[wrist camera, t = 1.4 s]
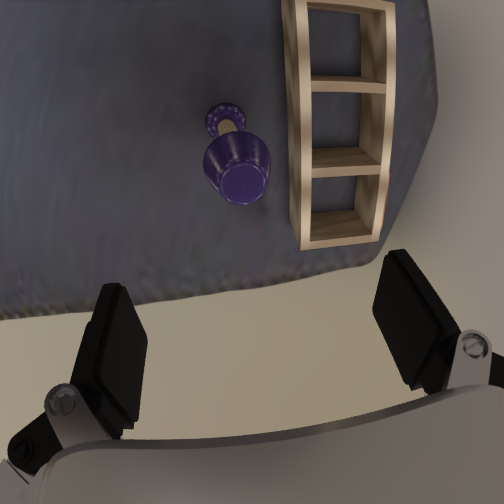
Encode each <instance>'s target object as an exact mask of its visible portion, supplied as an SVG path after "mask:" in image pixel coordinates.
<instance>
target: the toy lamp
mask: <svg viewBox="0 0 504 504" xmlns="http://www.w3.org/2000/svg"><path fill="white" fill-rule="evenodd" d="M245 126H246V118H245V115H244V113H243V111H242V110H241V109H240V108H239V107H238V106H236V105H234V104H230V103H223V104H219V105H216V106H215V107H213V108H212V109H211V110H210V111H209V113H208V115H207V117H206V128H207V131H208V132H209V134H210V135H211V136H212V137H213V138H215V140H214V141H213V142H212V143H211V144H210V145H209V146H208V148H207V150H206V152H205V155H204V160H203V168H204V173H205V176H206V178H207V180H208V181H209V183H210V184H211V185H212V187H213V188H214V189H215V190H216V191H217V192H218V193H219V194H220V196H221V197H222V198H224V199H225V200H226V201H228V202H230V203H232V204H236V205H248V204H251V203H253V202H255V201H257V200H258V199H259V198H261V196H262V195H263V194H264V192H265V191H266V188H267V185H268V181H269V175H270V170H271V157H270V153H269V150H268V148H267V146H266V145H265V143H264V142H263V141H262V140H261V139H260V138H258V137H257V136H255V135H253V134H252V133H249V132H245V131H244V129H245Z"/></svg>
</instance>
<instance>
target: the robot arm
mask: <svg viewBox="0 0 504 504" xmlns="http://www.w3.org/2000/svg"><path fill="white" fill-rule="evenodd" d="M372 310H373V315H374V317H375V320H376V322H377V323H378V326H379V328H380V330H381V332H382V334H383V336H384V339H385V341H386V343H387V345H388V347H389V350H390V352H391V354H392V356H393V358H394V361H395V363H396V365H397V367H398V370H399V372H400V374H401V377H402V379H403V381H404V383H405V384H407V385H408V384H409V387H410V389H411V391H413V390H416V389H419V388H422V387H423V389H424V391H425V395H424V397H422V398H419V399H416V400H413V401H409V402H406V403H402V404H399V405H396V406H392V407H389V408H385V409H382V410H378V411H375V412H371V413H367V414H363V415H359V416H355V417H350V418H346V419H342V420H338V421H332V422H328V423H323V424H318V425H312V426H307V427H302V428H295V429H290V430H282V431H276V432H269V433H260V434H252V435H242V436H231V437H219V438H202V439H171V440H133V439H130V440H124V439H123V438H122V435H123V429H134V422H137V421H138V419H139V409H140V400H141V391H142V382H143V374H144V366H145V358H146V351H147V344H148V341H147V335H146V333H145V330H144V328H143V326H142V324H141V322H140V319H139V317H138V315H137V313H136V311H135V308H134V306H133V304H132V301H131V299H130V296H129V294H128V292H127V289H126V287H125V286H121V284H120V283H108V284H104V285H103V286H102V289H101V291H100V294H99V297H98V300H97V303H96V306H95V309H94V312H93V315H92V318H91V321H89V322H88V324H87V326H86V328H85V331H84V335H83V338H82V341H81V344H80V348H79V351H78V354H77V358H76V361H75V365H74V369H73V372H72V376H71V380H70V384H68V383H63V384H59V385H57V386H55V387H53V388H52V389H51V390H50V391H49V392H48V394H47V395H46V398H45V401H44V408H45V412H44V413H43V414H41V415H40V416H39V417H37V418H36V419H35V420H33V421H32V422H31V423H30V424H28V425H27V426H26V427H24V428H23V429H22V430H21V431H19V432H18V433H17V434H16V435H14V437H12V439H11V440H10V442H9V444H8V449H7V450H8V459H7V460H5V459H3V461H2V462H1V463H0V504H504V357H503V356H500V355H498V354H496V353H494V352H492V346H491V343H490V341H489V340H488V338H487V337H486V336H485V335H484V334H482V333H481V332H479V331H476V330H466V331H463V332H461V331H460V329H459V327H458V325H457V323H456V322H455V320H454V319H453V317H452V316H451V314H450V313H449V311H448V309H447V308H446V306H445V305H444V303H443V302H442V301H441V299H440V297H439V296H438V294H437V293H436V291H435V290H434V289H433V287H432V286H431V284H430V283H429V282H428V280H427V279H426V277H425V276H424V274H423V273H422V271H421V270H420V269H419V267H418V266H417V265H416V263H415V262H414V261H413V259H412V258H411V256H410V255H409V254H408V253H407V251H406V250H405V249H399V250H391V251H389V253H388V255H385V257H384V260H383V265H382V270H381V274H380V278H379V282H378V287H377V291H376V295H375V299H374V302H373V307H372Z"/></svg>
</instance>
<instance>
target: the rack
mask: <svg viewBox="0 0 504 504" xmlns="http://www.w3.org/2000/svg"><path fill="white" fill-rule="evenodd" d="M281 10H282V24H283V39H284V55H285V74H286V94H287V119H288V149H289V196H290V224H291V227H292V229H293V232H294V234H295V237H296V240H297V242H298V245H299V247H300V250H307V249H316V248H324V247H332V246H341V245H349V244H357V243H365V242H374V241H378V240H379V234H380V229H382V223H383V217H384V211H385V204H386V198H387V190H388V183H389V175H390V173H389V165H390V156H391V146H392V135H393V122H394V106H395V83H396V26H395V4H394V3H392V2H387V1H381V0H281ZM307 10H318V11H332V12H343V13H353V14H359V15H360V40H361V77H357V76H332V75H311V74H310V49H309V29H308V13H307ZM311 92H361V106H360V133H359V147H333V148H312V117H311ZM351 175H357V179H356V191H355V201H354V209H351V210H340V211H329V212H319V213H311V178H319V177H334V176H351Z"/></svg>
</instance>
